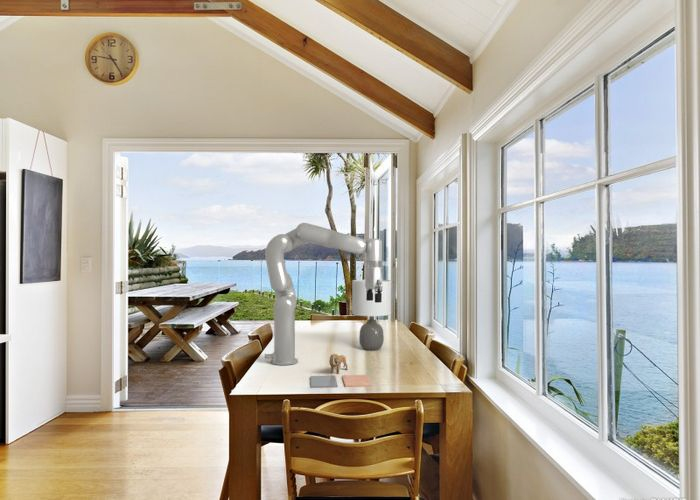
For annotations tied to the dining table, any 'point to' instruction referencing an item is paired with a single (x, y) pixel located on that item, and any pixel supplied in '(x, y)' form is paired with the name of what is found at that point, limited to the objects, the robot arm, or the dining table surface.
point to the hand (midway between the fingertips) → (373, 301)
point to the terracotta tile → (356, 381)
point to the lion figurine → (337, 362)
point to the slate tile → (323, 381)
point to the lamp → (371, 313)
